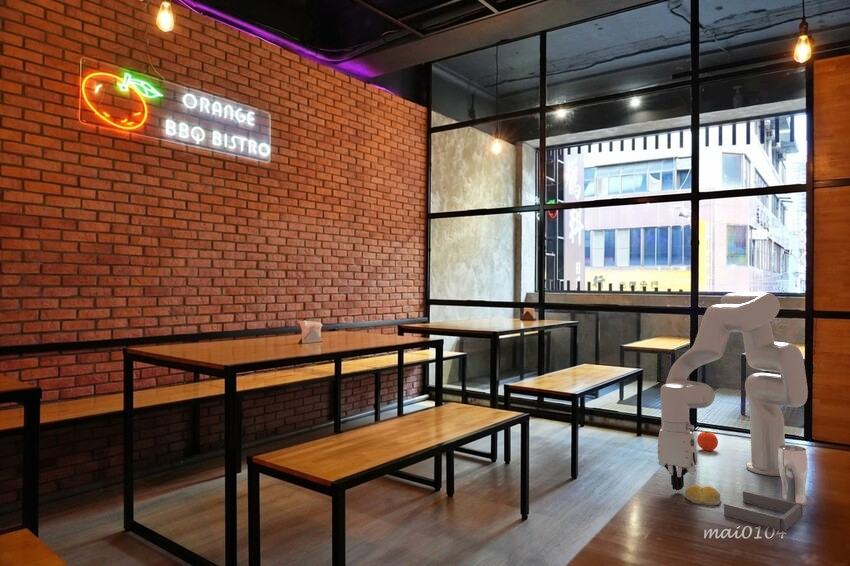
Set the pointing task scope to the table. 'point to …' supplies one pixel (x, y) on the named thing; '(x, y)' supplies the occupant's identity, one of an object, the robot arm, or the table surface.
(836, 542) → the table surface
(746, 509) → the frame
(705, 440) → the clementine
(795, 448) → the beer glass
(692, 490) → the bread roll
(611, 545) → the table surface
